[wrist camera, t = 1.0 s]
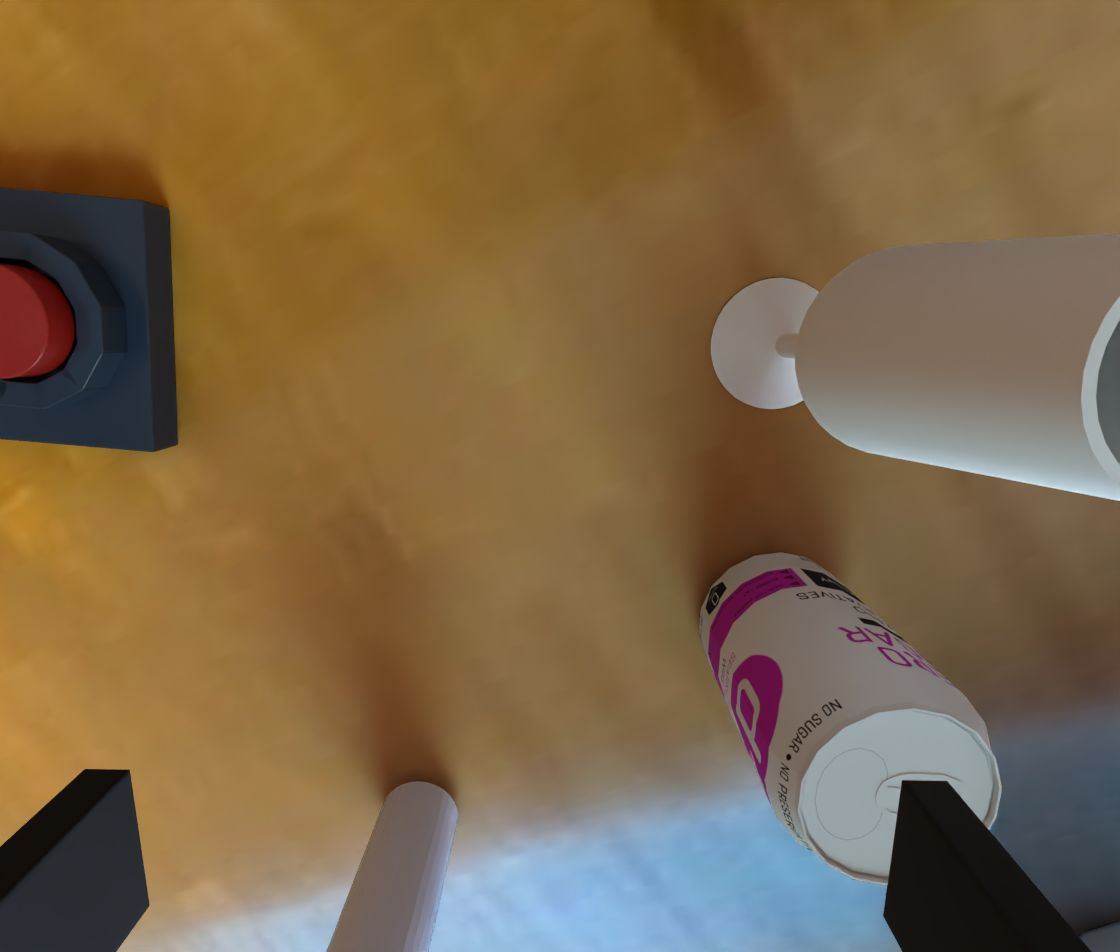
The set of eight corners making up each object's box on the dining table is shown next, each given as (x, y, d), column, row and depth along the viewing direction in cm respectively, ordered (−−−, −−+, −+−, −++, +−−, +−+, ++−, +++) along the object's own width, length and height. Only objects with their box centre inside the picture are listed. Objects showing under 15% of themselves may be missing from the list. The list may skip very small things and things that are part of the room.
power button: (-39, 260, 30) (-74, 256, 29) (72, 270, 30) (43, 266, 29) (-28, 371, 31) (-62, 373, 30) (79, 380, 32) (51, 383, 30)
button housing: (-33, 190, 33) (-112, 171, 29) (170, 208, 33) (117, 191, 29) (-10, 429, 36) (-80, 441, 32) (178, 445, 36) (131, 459, 32)
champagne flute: (848, 279, 34) (1495, 163, 10) (832, 411, 35) (1368, 574, 12) (715, 274, 34) (1062, 148, 10) (704, 407, 35) (988, 561, 12)
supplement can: (691, 681, 39) (770, 896, 24) (702, 545, 37) (794, 687, 22) (832, 686, 39) (996, 904, 24) (850, 550, 37) (1039, 695, 22)
